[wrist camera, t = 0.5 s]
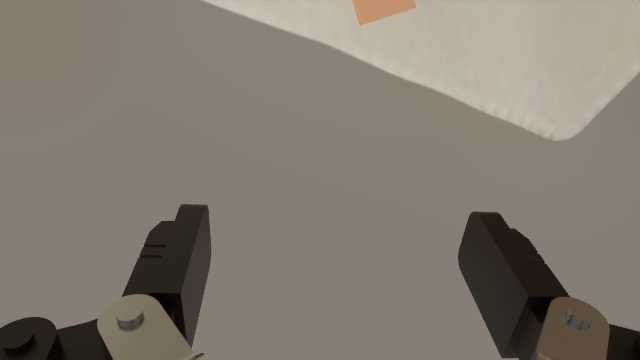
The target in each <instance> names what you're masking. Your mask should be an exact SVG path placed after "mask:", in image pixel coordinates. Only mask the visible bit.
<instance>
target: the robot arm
mask: <svg viewBox="0 0 640 360" xmlns="http://www.w3.org/2000/svg"><path fill="white" fill-rule="evenodd" d="M209 225H210V224H209V211H208V206H207V205H191V204H181V206H180V208H179V211H178V213H177V216H176V219H175V221H161V222H160V223H159V224H158V225H157V226H156V227H154V228H153V229H152V230H151V231H150V232H149V235H148V237H147V239H146V242H145V244H144V247H143V249H142V251H141V253H140V257H139V258H138V260H137V262H136V265H135V267H134V269H133V272H132V274H131V277H130V279H129V281H128V283H127V286H126V288H125V291H124V293H123V295H122V297H121V298H119V299H117V300H115V301H113V302H112V303H110V304H109V305H108V306H107V307H105V309H104V310H103V311H102V312H101V314H100V316H99V318H97V319H95V320H92V321H90V322H87V323H83V324H79V325H75V326H71V327H66V328H62V329H58V330H56V327H55V325H54V324H53V323H52V322H51V321H50V320H48V319H45V318H40V317H29V318H23V319H20V320H17V321H14V322H11V323H9V324H7V325H5V326H3V327H2V328H0V360H210V359H209V358H208V357H207V356H206V355H205V354H204V353H201V354H199V355H196V354H195V353H194V352H193V350H192V349H191V348H192V344H193V340H194V335H195V330H196V325H197V321H198V317H199V312H200V308H201V303H202V299H203V294H204V290H205V285H206V281H207V276H208V272H209V267H210V261H211V238H210V226H209ZM458 261H459V267H460V270H461V272H462V275H463V277H464V279H465V281H466V283H467V285H468V287H469V289H470V292H471V294H472V296H473V298H474V300H475V302H476V304H477V306H478V308H479V310H480V313H481V315H482V317H483V319H484V321H485V323H486V326H487V328H488V330H489V332H490V334H491V336H492V338H493V340H494V343H495V345H496V347H497V349H498V351H499V353H500V355H501V357H502V358H519V360H640V332H638V331H635V330H631V329H627V328H623V327H619V326H615V325H611V324H609V323H608V322H607V320H606V318H605V317H604V316H603V315H602V314H601V313H600V312H599V311H598V310H597V309H596V308H594V307H593V306H591V305H590V304H588V303H586V302H584V301H581V300H579V299H575V298H571V297H570V296H569V295H568V293H567V292H566V291H565V289H564V288H563V286H562V285H561V284H560V282H559V281H558V280H557V278H556V277H555V275H554V274H553V273H552V271H551V270H550V268H549V267H548V266H547V264H545V263H544V262H545V261H544V260H543V259H542V257H541V256H540V254H537V250H536V249H535V247H534V246H533V245H532V243H531V242H530V240H529V239H528V238H526V237H525V236H524V235H522V234H521V233H520V232H518V231H517V230H516V229H510V228H509V227H508V225H507V224H506V222H505V221H504V219H503V218H502V216H501V215H500V214H499V213H497V212H472V213H471V214H470V216H469V218H468V222H467V225H466V228H465V232H464V235H463V238H462V242H461V245H460V249H459V253H458Z"/></svg>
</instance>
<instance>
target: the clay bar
mask: <svg viewBox="0 0 640 360" xmlns="http://www.w3.org/2000/svg"><path fill="white" fill-rule="evenodd" d="M353 4H354V7H355V11H356V14H357V17H358V21H359V24H360V25H363V24H366V23H369V22H373V21H376V20H379V19H382V18H385V17H388V16H392V15H395V14H398V13H401V12H404V11H407V10H411V9H414V8H416V6H415V1H414V0H353Z"/></svg>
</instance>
